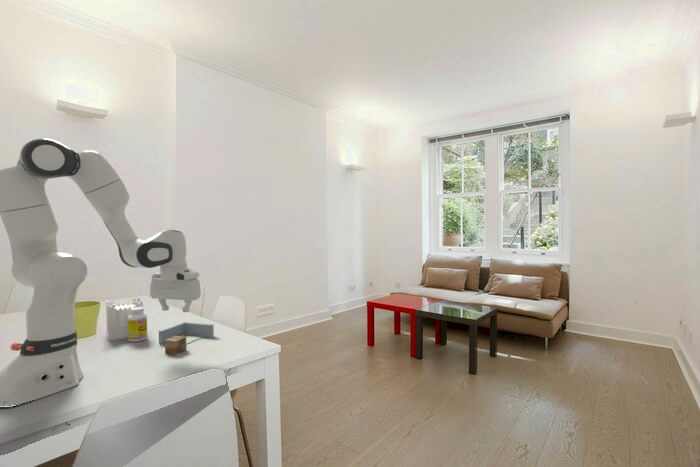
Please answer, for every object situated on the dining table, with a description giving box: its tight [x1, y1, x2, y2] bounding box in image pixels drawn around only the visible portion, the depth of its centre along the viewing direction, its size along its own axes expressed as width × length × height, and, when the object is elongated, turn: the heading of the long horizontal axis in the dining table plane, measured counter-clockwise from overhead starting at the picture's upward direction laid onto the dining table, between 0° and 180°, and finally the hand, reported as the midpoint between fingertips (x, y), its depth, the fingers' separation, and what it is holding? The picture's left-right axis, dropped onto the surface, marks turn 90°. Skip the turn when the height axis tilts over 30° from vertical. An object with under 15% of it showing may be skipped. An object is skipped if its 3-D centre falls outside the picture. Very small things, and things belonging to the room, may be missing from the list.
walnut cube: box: [164, 336, 187, 356], centre depth 132 cm, size 5×5×5 cm
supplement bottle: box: [128, 306, 148, 343], centre depth 146 cm, size 7×7×13 cm
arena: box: [158, 321, 215, 345], centre depth 145 cm, size 14×15×5 cm
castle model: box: [105, 296, 144, 342], centre depth 155 cm, size 13×15×14 cm
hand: (175, 311), depth 131 cm, fingers open, 8 cm apart
